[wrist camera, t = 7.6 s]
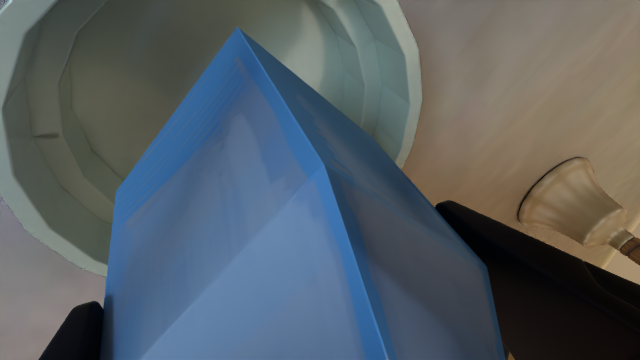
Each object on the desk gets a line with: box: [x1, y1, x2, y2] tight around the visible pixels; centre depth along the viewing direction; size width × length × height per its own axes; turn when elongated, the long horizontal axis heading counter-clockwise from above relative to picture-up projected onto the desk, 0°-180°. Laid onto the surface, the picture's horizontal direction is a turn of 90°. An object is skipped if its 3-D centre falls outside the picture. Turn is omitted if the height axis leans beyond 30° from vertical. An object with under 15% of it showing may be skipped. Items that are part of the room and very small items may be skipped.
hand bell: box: [519, 158, 640, 265], centre depth 28 cm, size 8×8×16 cm
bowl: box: [0, 0, 423, 278], centre depth 14 cm, size 14×14×5 cm
